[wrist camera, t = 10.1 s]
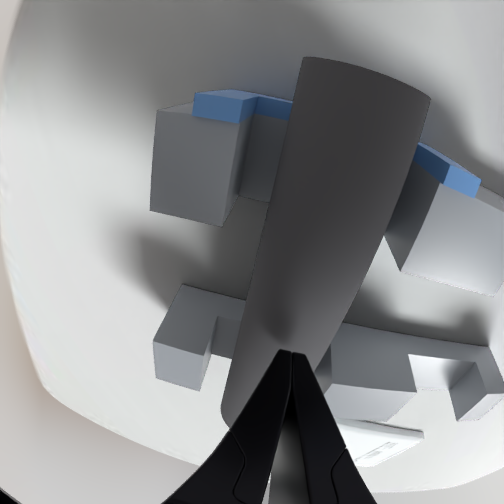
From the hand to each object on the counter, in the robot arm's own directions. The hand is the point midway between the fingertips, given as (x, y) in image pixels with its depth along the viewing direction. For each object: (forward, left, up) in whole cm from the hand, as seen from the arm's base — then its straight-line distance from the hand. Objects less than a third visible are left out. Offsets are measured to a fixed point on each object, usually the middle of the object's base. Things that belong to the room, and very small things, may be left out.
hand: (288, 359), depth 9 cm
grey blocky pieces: (-5, 0, -6) cm, 7 cm away
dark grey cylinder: (0, 0, -4) cm, 4 cm away
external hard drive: (-11, +18, -6) cm, 22 cm away
